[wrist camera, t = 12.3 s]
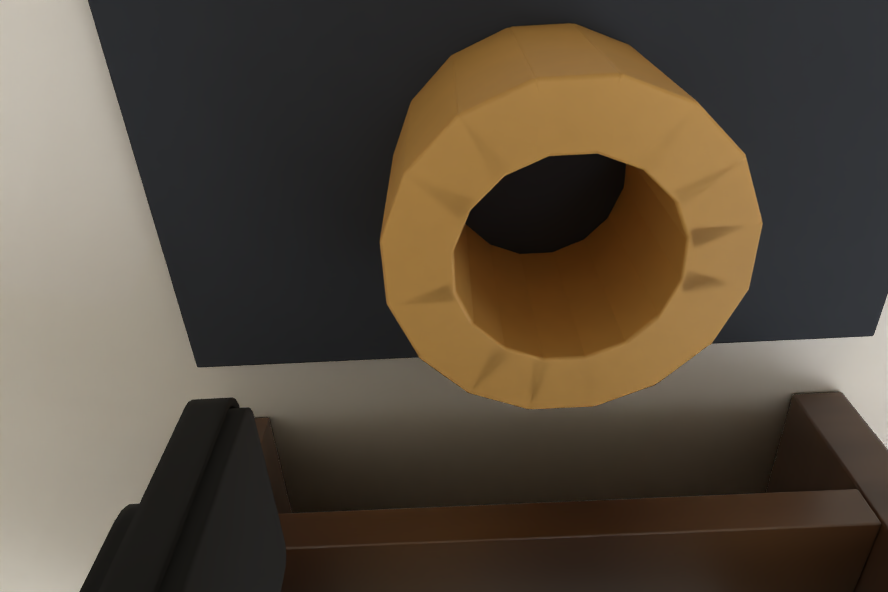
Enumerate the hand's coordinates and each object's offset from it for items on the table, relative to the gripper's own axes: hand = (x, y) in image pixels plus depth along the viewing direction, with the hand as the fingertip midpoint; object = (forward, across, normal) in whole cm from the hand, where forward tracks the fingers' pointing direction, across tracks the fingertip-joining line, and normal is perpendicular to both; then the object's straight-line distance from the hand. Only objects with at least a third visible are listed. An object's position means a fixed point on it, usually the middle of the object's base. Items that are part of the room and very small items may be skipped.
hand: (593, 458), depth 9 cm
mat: (+10, -1, -1) cm, 10 cm away
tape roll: (+9, -1, -1) cm, 9 cm away
